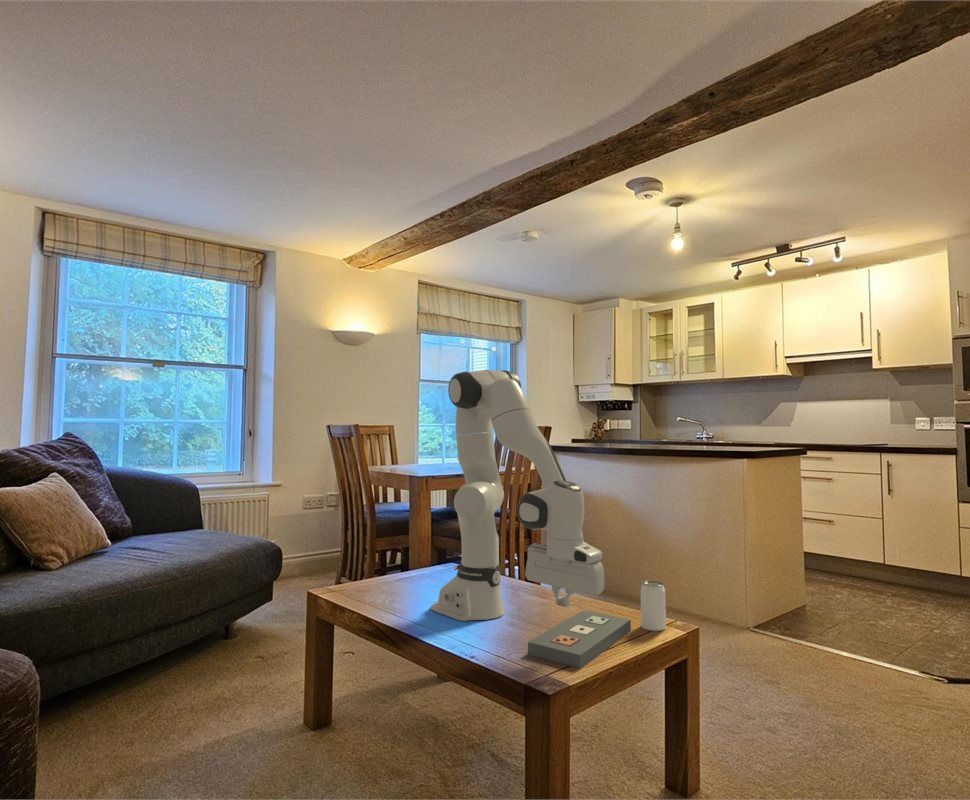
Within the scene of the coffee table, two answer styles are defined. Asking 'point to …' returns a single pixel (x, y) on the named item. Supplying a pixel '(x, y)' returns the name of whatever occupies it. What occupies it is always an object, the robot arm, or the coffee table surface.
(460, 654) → the coffee table surface
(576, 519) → the robot arm
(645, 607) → the can
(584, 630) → the one dot button
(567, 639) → the three dot button
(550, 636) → the button board
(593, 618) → the two dot button
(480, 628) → the coffee table surface
